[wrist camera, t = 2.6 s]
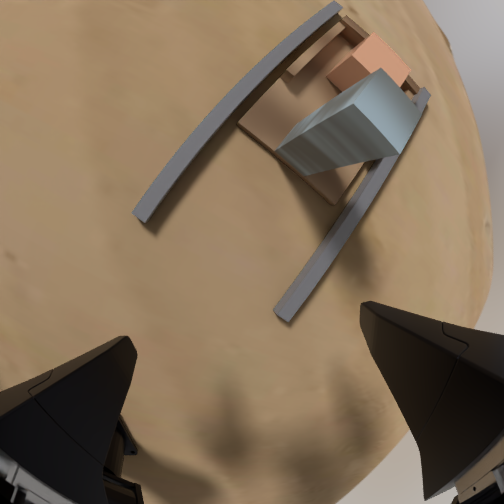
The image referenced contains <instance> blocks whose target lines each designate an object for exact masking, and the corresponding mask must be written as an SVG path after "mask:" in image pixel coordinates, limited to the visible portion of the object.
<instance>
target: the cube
mask: <svg viewBox="0 0 504 504" xmlns="http://www.w3.org/2000/svg"><path fill="white" fill-rule="evenodd" d="M379 68H382V69H383V70H384V71H385V72H386V73H387V74H388V75H389V76H390V77H391V78H392V79H393V80H394V82H395V83H396V84H397V85H398V86H399V87H401V85H402V84H403V82H404V81H405V79H406V77H407V76H408V74H409V73H410V71H411V69H410V68H409V67H408V66H407V65H406V64H405V63H404V61H403V60H402V59H401V58H400V57H399V56H398V55H397V54H396V53H395V52H394V51H393V50H392V49H391V48H390V47H389V46H388V45H387V44H386V43H385V42H384V41H383V40H382V39H381V38H380V37H379V36H378V35H377V34H376V33H375V32H373V33H372V34H371V35H369V36H368V37H367V38H366V39H364V40H363V41H362V42H361V43H359V44H358V45H357V46H356V47H355V48H353V49H352V50H351V51H350V52H348V53H347V54H346V56H345V57H344V58H343V59H342V60H341V61H340V62H339V63H338V64H337V65H336V66H335V67H334V68H333V69H332V70H331V71H330V72H329V74H328V75H327V76H326V78H328V79H329V80H330V81H331V82H332V83H333V84H334V85H335V86H336V87H338V88H339V89H340V90H341V91H342V92H343V91H345V90H346V89H348V88H349V87H351V86H352V85H354V84H356V83H357V82H359V81H360V80H362V79H363V78H365V77H367V76H368V75H370V74H371V73H373V72H375V71H376V70H378V69H379Z"/></svg>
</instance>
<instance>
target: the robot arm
mask: <svg viewBox="0 0 504 504" xmlns="http://www.w3.org/2000/svg"><path fill="white" fill-rule="evenodd" d="M360 327H361V329H362V332H363V335H364V337H365V340H366V342H367V345H368V348H369V350H370V353H371V355H372V357H373V359H374V361H375V363H376V364H377V366H378V368H379V370H380V372H381V374H382V376H383V377H384V379H385V381H386V383H387V385H388V387H389V389H390V391H391V393H392V395H393V396H394V398H395V400H396V402H397V404H398V406H399V408H400V410H401V412H402V414H403V416H404V418H405V420H406V422H407V424H408V426H409V428H410V430H411V432H412V434H413V437H414V439H415V441H416V443H417V445H418V448H419V451H420V456H421V466H422V476H423V492H424V499H425V501H426V500H428V499H430V498H432V497H435V496H437V495H439V494H440V493H443V492H445V491H447V490H449V489H451V488H452V487H454V486H455V487H456V490H457V492H458V495H457V496H455V497H454V499H453V501H452V503H451V504H504V335H500V334H495V333H490V332H485V331H480V330H475V329H470V328H466V327H461V326H457V325H454V324H450V323H446V322H441V321H438V320H435V319H431V318H428V317H424V316H421V315H417V314H414V313H411V312H407V311H404V310H400V309H397V308H393V307H390V306H387V305H383V304H380V303H377V302H373V301H367V302H363V303H361V305H360ZM136 360H137V351H136V349H135V347H134V345H133V343H132V341H131V339H130V338H129V337H128V336H118V337H116V338H114V339H113V340H111V341H109V342H107V343H105V344H103V345H101V346H99V347H97V348H95V349H93V350H91V351H89V352H87V353H85V354H83V355H81V356H79V357H77V358H75V359H73V360H70V361H68V362H66V363H64V364H62V365H60V366H58V367H56V368H54V369H52V370H49V371H47V372H45V373H43V374H41V375H39V376H37V377H35V378H32V379H30V380H28V381H25V382H23V383H21V384H18V385H16V386H13V387H11V388H8V389H6V390H4V391H1V392H0V504H144V502H143V496H142V491H141V486H140V485H139V484H137V483H132V482H129V481H127V480H125V479H122V478H121V473H122V466H123V459H124V455H136V454H137V453H138V450H137V448H136V446H135V445H134V443H133V441H132V439H131V438H130V436H129V434H128V432H127V430H126V429H125V427H124V425H123V423H122V421H121V419H120V417H119V416H120V413H121V410H122V407H123V404H124V401H125V398H126V396H127V393H128V390H129V387H130V384H131V380H132V376H133V372H134V368H135V364H136Z"/></svg>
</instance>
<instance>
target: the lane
mask: <svg viewBox="0 0 504 504" xmlns="http://www.w3.org/2000/svg"><path fill="white" fill-rule="evenodd" d="M342 8H343V7H342V6H341V5H339V4H338V3H337V2H335V1H332V2H331V3H330V4H328V5H327V6H326V7H324V8H323V9H322V10H320V11H319V12H318V13H316V14H315V15H314V16H312V17H311V18H310V19H308V20H307V21H306V22H305V23H303V24H302V25H301V26H300V27H298V28H297V29H296V30H295V31H294V32H292V33H291V34H290V35H289V36H288V37H287V38H285V39H284V40H283V41H282V42H281V43H280V44H278V45H277V46H276V47H275V48H274V49H273V50H272V51H271V52H269V53H268V54H267V55H266V56H265V57H264V58H263V59H262V60H261V61H260V62H259V63H258V64H257V65H255V66H254V67H253V68H252V69H251V70H250V71H249V72H248V73H247V74H246V75H245V76H244V77H243V78H242V79H241V80H240V81H239V82H238V83H237V84H236V85H235V86H234V87H233V88H232V89H231V90H230V91H229V92H228V93H227V94H226V96H225V97H224V98H223V99H222V100H221V101H220V102H219V103H218V104H217V105H216V106H215V107H214V108H213V110H212V111H211V112H210V113H209V114H208V115H207V116H206V117H205V118H204V120H203V121H202V122H201V123H200V124H199V125H198V127H197V128H196V129H195V130H194V131H193V132H192V134H191V135H190V136H189V137H188V138H187V140H186V141H185V142H184V143H183V144H182V146H181V147H180V148H179V149H178V151H177V152H176V153H175V154H174V156H173V157H172V158H171V159H170V161H169V162H168V163H167V164H166V166H165V167H164V168H163V170H162V171H161V172H160V174H159V175H158V176H157V178H156V179H155V180H154V182H153V183H152V184H151V186H150V187H149V189H148V190H147V191H146V193H145V194H144V196H143V197H142V198H141V200H140V201H139V203H138V204H137V206H136V207H135V208H134V210H133V211H132V214H133V215H135V216H136V217H137V218H139V219H140V220H141V221H143V222H144V223H146V222H148V220H149V219H150V217H151V216H152V215H153V213H154V212H155V210H156V209H157V207H158V206H159V205H160V203H161V202H162V200H163V199H164V198H165V196H166V195H167V194H168V192H169V191H170V190H171V188H172V187H173V186H174V184H175V183H176V182H177V180H178V179H179V178H180V176H181V175H182V174H183V172H184V171H185V170H186V169H187V167H188V166H189V165H190V163H191V162H192V161H193V160H194V158H195V157H196V156H197V155H198V153H199V152H200V151H201V150H202V148H203V147H204V146H205V145H206V144H207V142H208V141H209V140H210V139H211V138H212V136H213V135H214V134H215V133H216V132H217V131H218V129H219V128H220V127H221V126H222V125H223V124H224V122H225V121H226V120H227V119H228V118H229V117H230V116H231V115H232V113H233V112H234V111H235V110H236V109H237V108H238V107H239V106H240V105H241V104H242V102H243V101H244V100H245V99H246V98H247V97H248V96H249V95H250V94H251V93H252V92H253V91H254V90H255V89H256V88H257V87H258V86H259V84H260V83H261V82H262V81H263V80H264V79H265V78H266V77H267V76H268V75H269V74H270V73H271V72H272V71H273V70H274V69H275V68H276V67H277V66H278V65H280V64H281V63H282V62H283V61H284V60H285V59H286V58H287V57H288V56H289V55H290V54H291V53H292V52H293V51H294V50H295V49H296V48H298V47H299V46H300V45H301V44H302V43H303V42H304V41H305V40H306V39H308V38H309V37H310V36H311V35H312V34H313V33H314V32H316V31H317V30H318V29H319V28H320V27H321V26H323V25H324V24H325V23H326V22H327V21H329V20H330V19H331V18H332V17H334V16H335V15H336V14H337V13H338V12H339V11H340V10H341V9H342ZM430 96H431V95H430V93H429V92H428V91H427V90H426V88H425V87H423V88H420V90H419V92H418V93H417V94H416V95H414V97H413V98H412V100H411V101H412V102H413V103H414V105H415V106H416V107H417V108H418V110H419V111H420V112H421V113H422V112H423V110H424V108H425V106H426V104H427V102H428V100H429V98H430ZM399 155H400V154H399ZM399 155H394V156H389V157H384V158H380V159H376V161H375V162H374V164H373V165H372V167H371V169H370V170H369V172H368V173H367V175H366V176H365V178H364V180H363V181H362V183H361V184H360V186H359V187H358V189H357V190H356V192H355V194H354V195H353V197H352V198H351V200H350V201H349V203H348V204H347V206H346V207H345V209H344V210H343V212H342V213H341V215H340V216H339V218H338V219H337V221H336V222H335V224H334V225H333V227H332V228H331V229H330V231H329V232H328V234H327V235H326V237H325V238H324V240H323V241H322V243H321V244H320V245H319V247H318V248H317V250H316V251H315V253H314V254H313V255H312V257H311V258H310V260H309V261H308V262H307V264H306V265H305V267H304V268H303V269H302V271H301V272H300V274H299V275H298V276H297V278H296V279H295V281H294V282H293V283H292V285H291V286H290V287H289V289H288V290H287V291H286V293H285V294H284V296H283V297H282V298H281V300H280V301H279V302H278V304H277V305H276V306H275V308H274V309H273V311H274V312H275V313H276V314H277V315H278V316H280V317H281V318H283V319H284V320H286V321H287V322H289V321H290V320H291V318H292V317H293V316H294V314H295V313H296V312H297V310H298V309H299V308H300V306H301V305H302V304H303V302H304V301H305V299H306V298H307V297H308V295H309V294H310V293H311V291H312V290H313V288H314V287H315V286H316V284H317V283H318V281H319V280H320V279H321V277H322V276H323V274H324V273H325V272H326V270H327V269H328V267H329V266H330V264H331V263H332V261H333V260H334V259H335V257H336V256H337V254H338V253H339V251H340V250H341V248H342V247H343V245H344V244H345V242H346V241H347V239H348V238H349V236H350V235H351V233H352V232H353V230H354V229H355V227H356V226H357V224H358V222H359V221H360V219H361V218H362V216H363V215H364V213H365V211H366V210H367V208H368V207H369V205H370V203H371V202H372V200H373V199H374V197H375V195H376V194H377V192H378V190H379V189H380V187H381V185H382V184H383V182H384V180H385V179H386V177H387V175H388V174H389V172H390V170H391V169H392V167H393V165H394V163H395V162H396V160H397V158H398V156H399Z"/></svg>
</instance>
